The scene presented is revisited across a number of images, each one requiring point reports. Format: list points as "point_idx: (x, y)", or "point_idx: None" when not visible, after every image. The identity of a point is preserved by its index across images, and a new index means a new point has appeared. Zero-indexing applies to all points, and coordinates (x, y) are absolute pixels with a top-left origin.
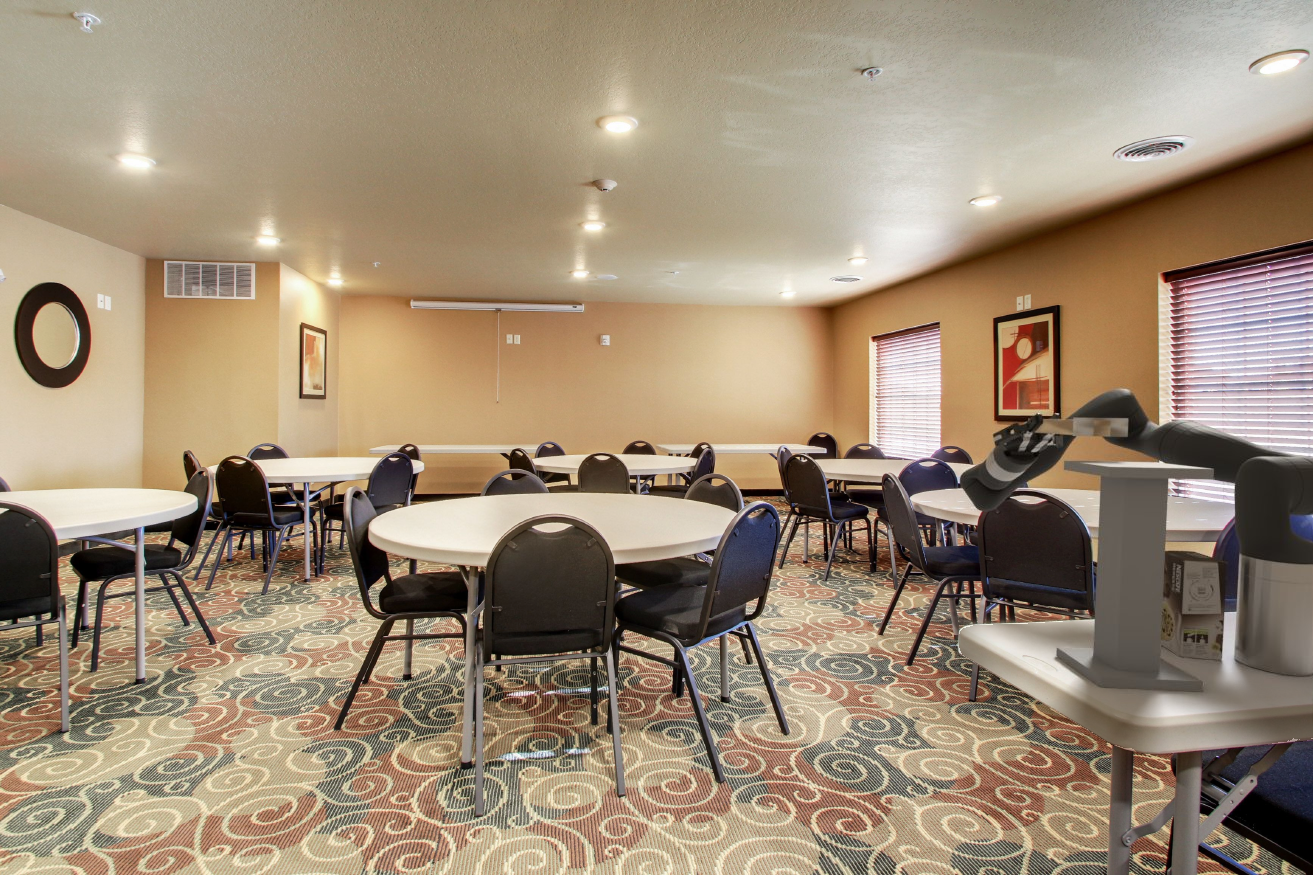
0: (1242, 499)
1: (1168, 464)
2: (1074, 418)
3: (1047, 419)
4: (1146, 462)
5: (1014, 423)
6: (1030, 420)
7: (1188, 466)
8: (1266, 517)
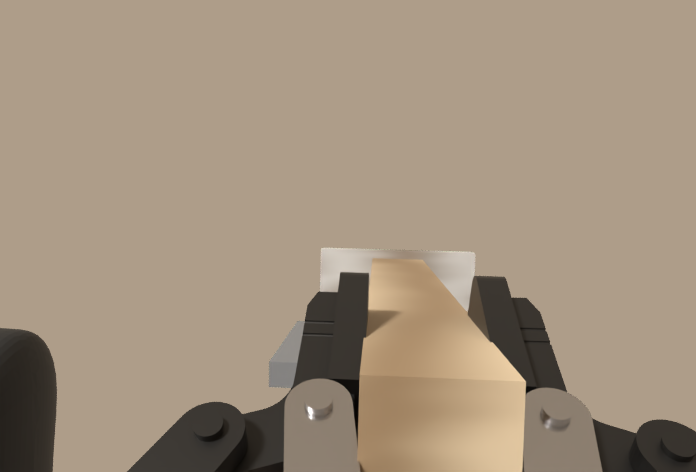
0: (18, 457)
1: (297, 344)
2: (474, 255)
3: (459, 305)
4: None
5: (689, 430)
6: (543, 347)
7: (298, 332)
8: (50, 463)
